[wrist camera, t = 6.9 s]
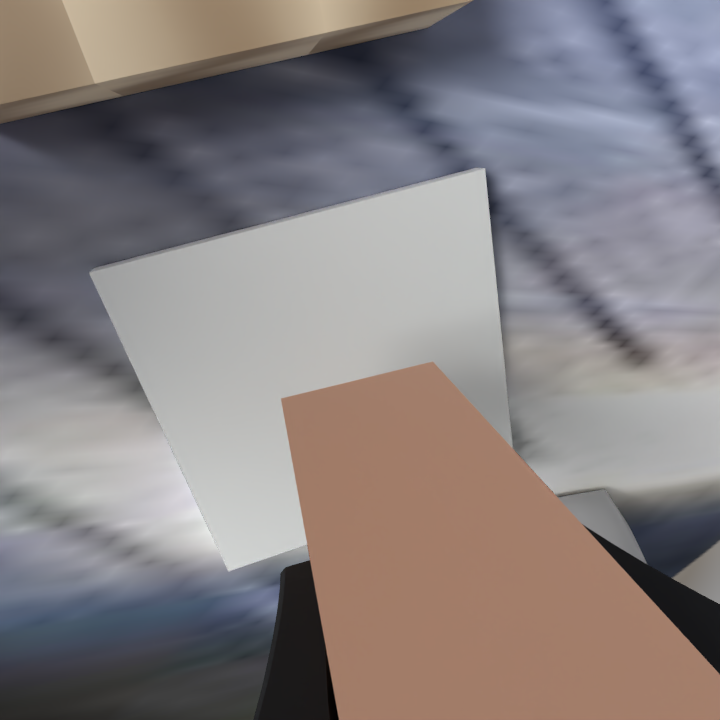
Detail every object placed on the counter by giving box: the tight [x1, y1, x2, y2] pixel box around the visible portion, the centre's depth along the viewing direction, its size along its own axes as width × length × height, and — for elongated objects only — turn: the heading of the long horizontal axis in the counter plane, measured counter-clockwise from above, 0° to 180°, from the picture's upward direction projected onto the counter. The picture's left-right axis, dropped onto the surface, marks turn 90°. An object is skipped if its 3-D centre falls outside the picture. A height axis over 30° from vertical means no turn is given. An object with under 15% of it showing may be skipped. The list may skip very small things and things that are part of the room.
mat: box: [89, 168, 513, 571], centre depth 18 cm, size 12×12×1 cm
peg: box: [281, 362, 720, 720], centre depth 9 cm, size 4×4×9 cm
